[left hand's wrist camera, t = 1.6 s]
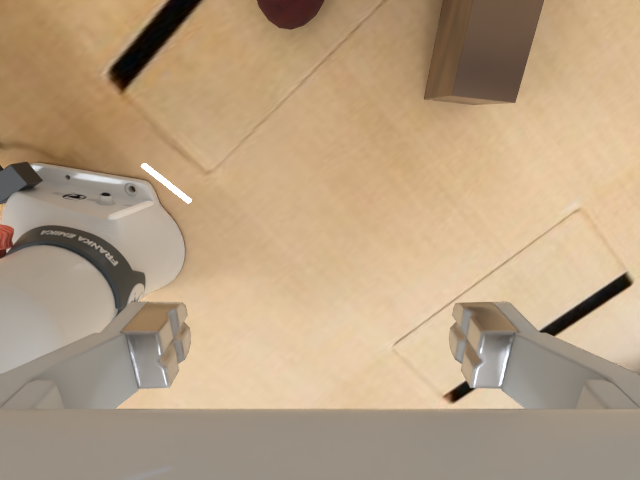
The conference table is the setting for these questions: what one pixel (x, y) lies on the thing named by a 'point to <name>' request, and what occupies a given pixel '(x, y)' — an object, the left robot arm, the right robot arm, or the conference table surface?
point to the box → (481, 50)
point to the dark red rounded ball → (290, 11)
